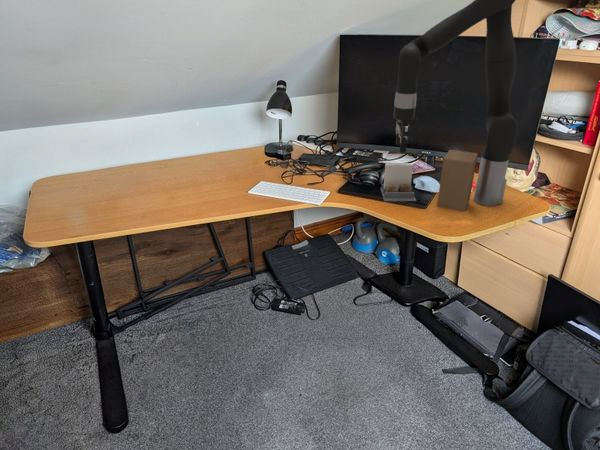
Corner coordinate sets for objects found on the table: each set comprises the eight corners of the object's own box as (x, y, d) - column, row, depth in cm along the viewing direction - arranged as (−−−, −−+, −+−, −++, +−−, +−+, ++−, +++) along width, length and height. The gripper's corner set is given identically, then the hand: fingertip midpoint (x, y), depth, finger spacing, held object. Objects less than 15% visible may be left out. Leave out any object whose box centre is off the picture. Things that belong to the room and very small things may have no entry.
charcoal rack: (410, 191, 181) (411, 183, 179) (416, 204, 170) (417, 195, 169) (379, 191, 181) (380, 183, 180) (383, 204, 171) (384, 196, 169)
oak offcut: (396, 194, 175) (397, 184, 173) (397, 196, 173) (398, 186, 171) (386, 194, 175) (386, 184, 173) (386, 196, 173) (387, 186, 172)
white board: (409, 189, 178) (411, 163, 173) (409, 191, 177) (412, 165, 171) (383, 189, 179) (385, 163, 173) (384, 191, 177) (386, 165, 172)
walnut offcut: (409, 194, 175) (410, 184, 173) (410, 196, 173) (411, 186, 171) (399, 194, 175) (400, 184, 173) (400, 196, 173) (400, 186, 171)
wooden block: (468, 203, 170) (478, 152, 161) (464, 215, 162) (474, 162, 153) (441, 199, 174) (449, 149, 164) (436, 209, 166) (443, 157, 157)
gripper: (419, 110, 155) (414, 155, 163) (411, 100, 168) (407, 142, 176) (397, 110, 155) (393, 155, 163) (391, 100, 168) (387, 142, 176)
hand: (400, 148), depth 169 cm, fingers open, 8 cm apart
